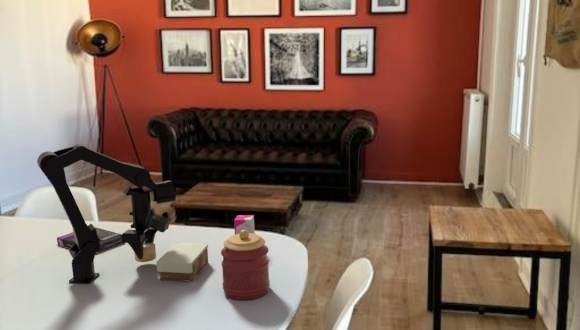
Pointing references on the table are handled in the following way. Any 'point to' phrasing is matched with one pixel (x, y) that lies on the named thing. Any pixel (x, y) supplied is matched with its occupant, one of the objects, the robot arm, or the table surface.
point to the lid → (180, 258)
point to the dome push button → (147, 252)
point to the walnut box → (196, 267)
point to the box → (106, 236)
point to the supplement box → (244, 223)
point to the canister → (245, 266)
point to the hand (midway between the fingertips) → (145, 254)
